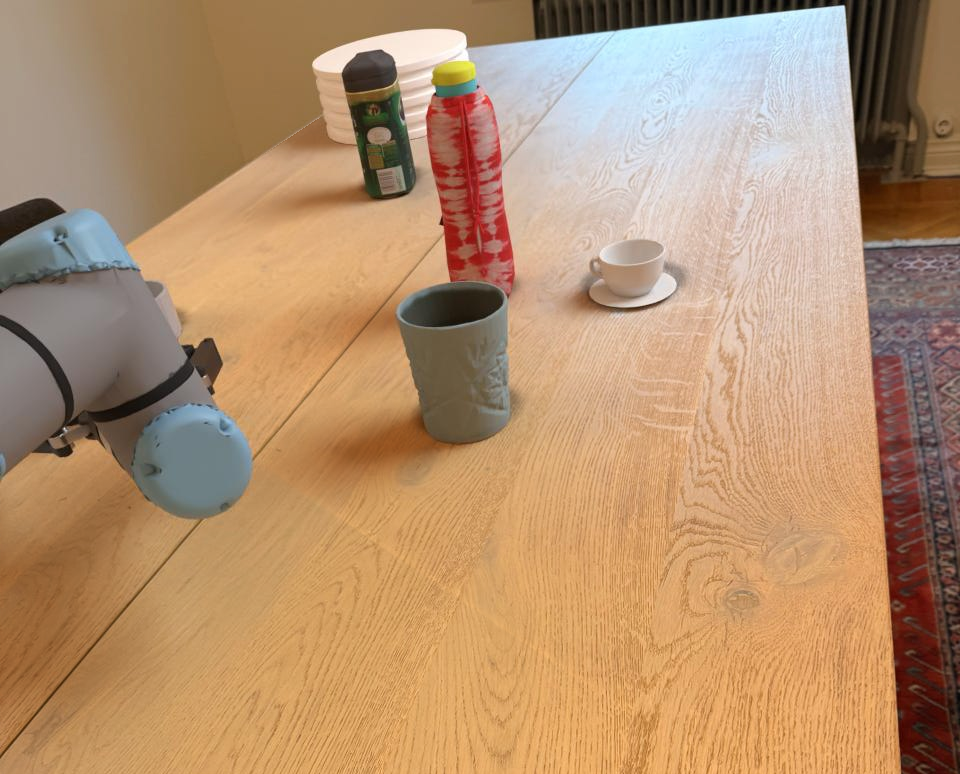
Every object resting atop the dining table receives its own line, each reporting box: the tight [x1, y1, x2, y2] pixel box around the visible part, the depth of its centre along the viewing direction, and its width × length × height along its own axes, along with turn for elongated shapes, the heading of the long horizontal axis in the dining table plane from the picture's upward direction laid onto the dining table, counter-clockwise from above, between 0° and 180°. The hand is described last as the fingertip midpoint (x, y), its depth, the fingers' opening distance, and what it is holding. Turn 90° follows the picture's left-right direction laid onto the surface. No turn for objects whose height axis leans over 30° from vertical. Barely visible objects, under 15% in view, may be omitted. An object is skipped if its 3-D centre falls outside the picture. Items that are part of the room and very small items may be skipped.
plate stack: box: [311, 28, 470, 146], centre depth 172 cm, size 28×28×12 cm
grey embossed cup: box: [395, 281, 511, 445], centre depth 89 cm, size 10×10×12 cm
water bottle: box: [426, 60, 516, 300], centre depth 105 cm, size 12×8×25 cm, turn 5°
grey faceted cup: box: [144, 279, 183, 339], centre depth 117 cm, size 9×9×6 cm
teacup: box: [588, 238, 678, 308], centre depth 107 cm, size 10×10×5 cm
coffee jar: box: [342, 49, 417, 199], centre depth 141 cm, size 10×8×19 cm
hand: (96, 378), depth 89 cm, fingers open, 13 cm apart
